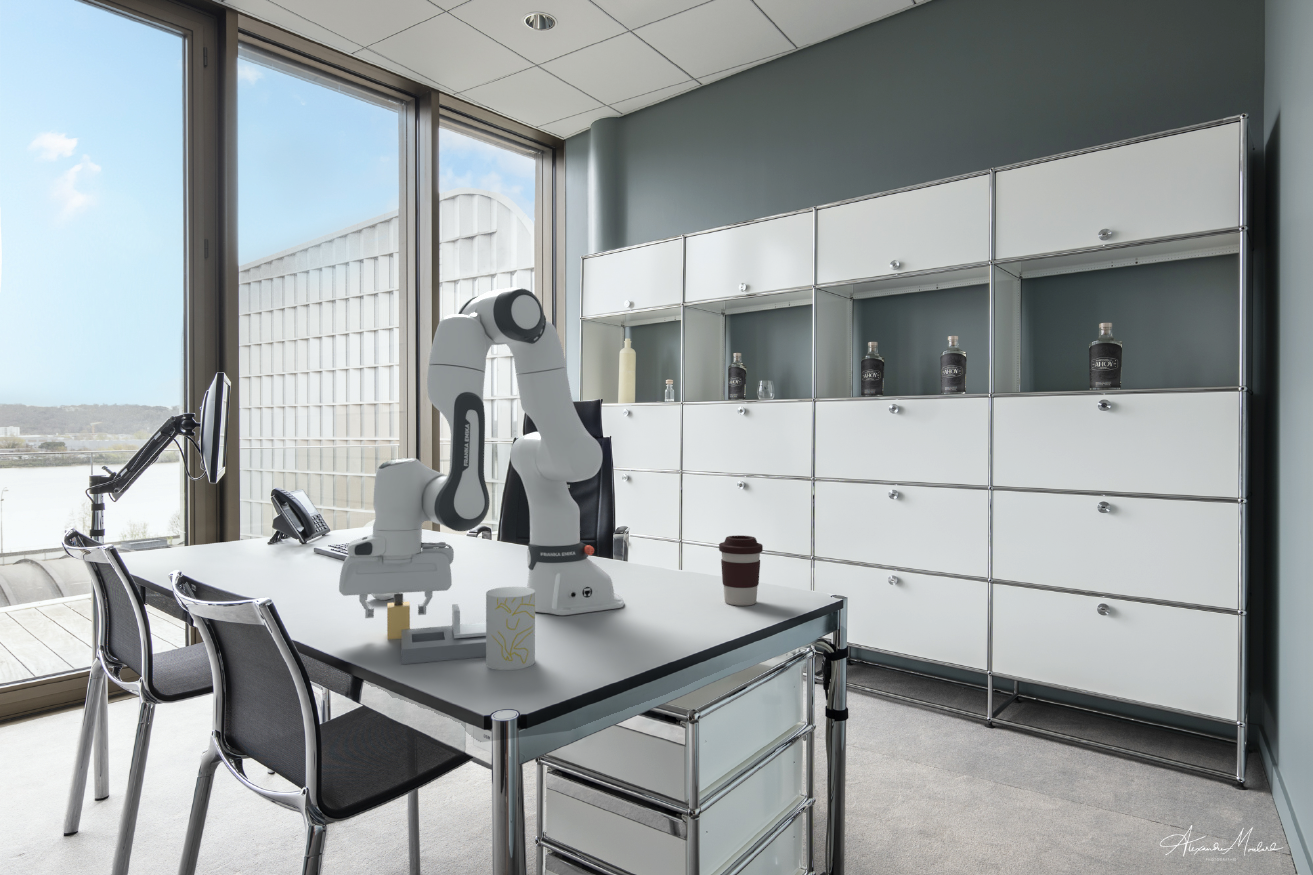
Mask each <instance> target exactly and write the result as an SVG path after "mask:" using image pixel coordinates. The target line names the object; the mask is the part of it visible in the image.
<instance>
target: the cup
mask: <svg viewBox="0 0 1313 875" xmlns="http://www.w3.org/2000/svg"><path fill="white" fill-rule="evenodd" d="M485 599H486V600H485V602H486V603H485V604H486V605H485V622H486V657H485V665H486V666H487V667H488V668H489V669H493V670H498V671H513V670H516V671H517V670H522V669H525V668H528V667H530V666H533V665H534V664H535V663H536V612H535V590H534V589H531V588H527V586H503V587H502V586H501V587H497V588H492V589H490V590H488V591H486V592H485Z"/></svg>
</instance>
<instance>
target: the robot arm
mask: <svg viewBox="0 0 1313 875" xmlns="http://www.w3.org/2000/svg"><path fill="white" fill-rule="evenodd" d="M502 345H506V346H507V347H508V348H509V350H510V351H511V354H512V357H513V359H514V360H513V361H514V363H513V364H514V368H515V374H516V375H515V376H516V381H517V387H518V394H519V400H520V404H521V409H522V411H523V412H524V413H525V414H526V415H527V416H528V417H529V418H530V420H531V421H532V422H533V424H534V426H535V428H536V430H537V431H533V432H530V433H526V434H524V435H521V436H520V437H518V438H517V439H516V440H515V441H514V443H513V444H512V446H511V448H510V453H509V457H510V459H509V460H510V462H511V465H512V468H513V469H514V470H515V471H516V472H517V474H518V475H519V477H520V479H521V482H522V484H523V487H524V491H525V496H526V499H527V502H528V503H527V504H528V510H529V542H528V545H527V568H528V577H527V578H528V579H527V586H526V588H531V589H534V590H535V613H543V614H551V615H557V616H569V615H576V614H583V613H591V612H599V611H607V610H613V609H620V608H623V607H624V605H625V603H624V602H625V601H624V599H623V597H622V596H621V595H620V594H618V593H615V590H614V586H613V580H612V578H611V576H610V575H609V574H608V573H607V572H606V571H605V570H604V569H603V568H601V567H599V565H597V564H596V563H594V562H593V561H592V560H591V559H589V558H588V557H589V556H592V555H593V554H594V553H595V548H594V547H593V546H591V545H590V544H589V545H588V544H585V543H583V542H582V541H580V540H581V536H580V533H581V532H580V531H581V526H580V525H581V524H580V522H581V521H580V518H581V516H580V515H581V514H580V513H581V512H580V506H579V505H578V503H577V502H576V501H575V500H574V499H573V496H571V493H570V491H569V487H568V484H567V483H575V482H582V481H586V480H589V479H592V478H593V477H595V476H596V475H597V473H599V471H600V469H601V467H602V463H603V449H602V446H601V445H600V443H599V441H598V440H597V439H596V438H595V437H593V435H591V434H590V432H589V431H588V430H587V429H586V428H585V426H584V423H583V422H582V420H581V418H580V416H579V414H578V412H577V409H576V407H575V405H574V401H573V397H572V393H571V388H570V383H569V382H570V381H569V376H568V375H569V374H568V370H567V365H566V358H565V353H564V350H563V346H562V343H561V339H560V337H559V334H558V331H557V328H556V326H554V324H553V323H552V322H550V321H548V320H547V317H546V316H545V313H544V309H543V306H542V304H541V302H540V301H539V299H538V297H537V296H536V295H535V294H534V292H532V291H530V290H529V289H526V288H522V287H508V288H504V289H496V290H491V291H488V292H486V293H484V294H482V295H480V296H474V297H472V298H470V299H469V300H467V301H466V302H465V303H464V304H463V305H462V306H461V308H460V309H459V311H458V313H457V314H450V315H446V316H445V317H443V318H442V319H441V320H440V321H439V323H438V325H437V328H436V331H435V333H434V337H433V341H432V345H431V349H430V355H429V360H428V369H427V376H426V377H427V378H426V382H427V383H426V384H427V385H426V387H427V396H428V399H429V401H430V402H431V404H432V405H433V407H434V408H436V409H437V411H439V412H440V413H441V414H442V416H443V417H444V418H445V420H446V421H447V424H448V426H449V429H450V444H449V445H450V449H449V451H450V452H449V471H448V474H444V473H442V472H441V471H440V472H439V471H437V470H435V469H432V468H431V467H428V466H427V465H426V464H424V463H422V462H421V461H420V459H418V458H415V457H405V458H396V459H391V460H387V461H385V462H383V463H382V464H380V465H379V466H378V468H377V470H376V473H375V479H374V486H373V487H374V488H373V503H372V504H373V505H372V506H373V509H374V516H375V518H374V522H373V525H372V534H371V535H367V536H364V537H361V538H358V539H354V540H351V541H350V542H349V543H348V544H347V547H346V551H347V554H348V555H347V556H346V557H345V559H344V561H343V563H342V567H341V570H340V575H339V585H338V592H339V593H340V594H341V595H342V596H344V597H345V596H346V597H347V596H359V597H358V598H359V603H360V604H361V606H362V607H363V609H364V612H365V614H364V616H365V617H364V618H365V619H373V618H374V615H375V607H374V606H370V605H369V603H368V602H367V601H368V598H369V595H371V594H387V593H403V594H404V593H405V594H407V593H422V592H424V597H425V599H424V600H423V603H421V604H420V603H419V604H417V605H418V606H417V615H418V616H426V615H427V607H428V605H429V603H430V602H431V600H432V598H433V594H434V593H433V592H441V591H442V592H445V591H448V590H450V588H451V587H452V585H453V584H452V581H453V580H452V570H451V564H452V563H453V562H454V558H455V556H454V555H455V554H454V548H453V547H452V546H451V545H450V544H448V543H446V542H445V541H443V542H442V541H440V542H430V541H429V542H422V541H423V540H422V538H423V537H422V535H423V533H422V532H423V529H422V528H423V523H424V522H431V523H434V524H437V525H441V526H444V527H446V528H448V529H450V530H453V531H455V532H467V531H471V530H473V529H474V528H477V527H478V526H479V525H480V524H481V523H483V521H484V520H485V518H486V517H487V515H488V512H489V510H490V503H491V502H490V494H489V490H488V487H487V484H486V478H485V444H486V443H485V442H486V441H485V440H486V416H485V414H486V413H485V405H484V389H485V388H484V387H485V378H486V377H485V376H486V365H487V355H488V353H489V350H490V348H491V347H492V346H502Z"/></svg>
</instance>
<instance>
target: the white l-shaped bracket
mask: <svg viewBox="0 0 1313 875" xmlns="http://www.w3.org/2000/svg"><path fill="white" fill-rule="evenodd" d="M451 605H452V607H451V609H452V610H451V611H452V612H451V615H452V616H451V618H452V621H451V626H452V631H453V634H454V638H465V637H477V636H486V621H484V622H470V623H462V624H461V609H460V606H459V604H458V603H457V604H455V603H453V604H451Z"/></svg>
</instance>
